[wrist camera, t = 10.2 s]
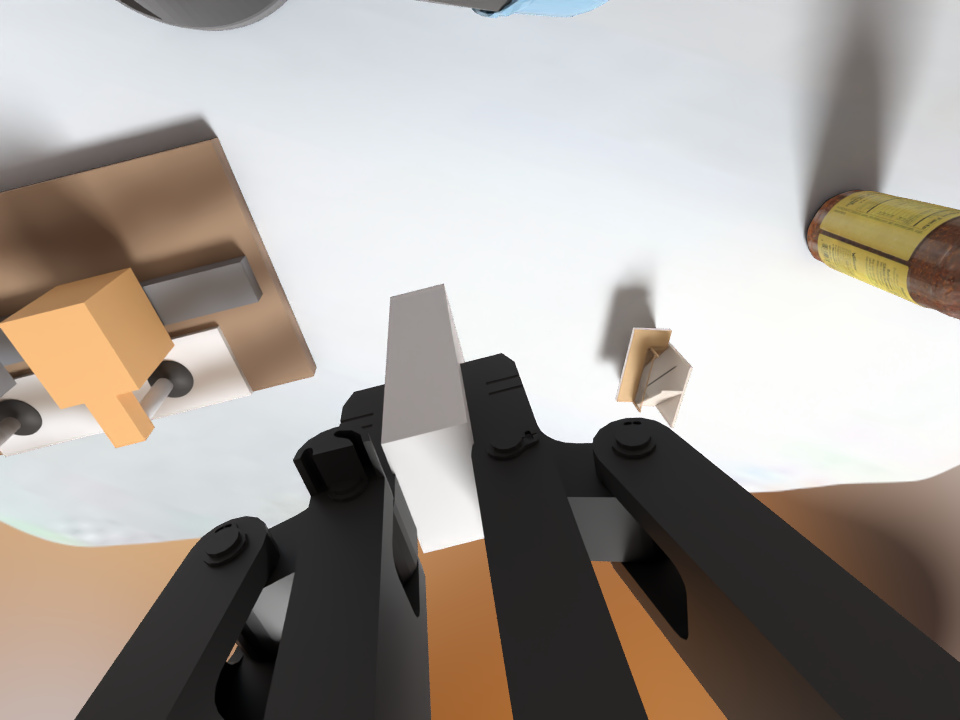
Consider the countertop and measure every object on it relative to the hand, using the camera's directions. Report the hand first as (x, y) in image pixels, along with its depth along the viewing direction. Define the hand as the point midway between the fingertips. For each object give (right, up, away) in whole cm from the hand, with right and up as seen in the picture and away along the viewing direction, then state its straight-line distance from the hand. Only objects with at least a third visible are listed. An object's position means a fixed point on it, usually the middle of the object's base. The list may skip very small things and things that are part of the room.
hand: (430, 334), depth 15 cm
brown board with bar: (-27, +3, +25) cm, 37 cm away
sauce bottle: (+30, +10, +29) cm, 43 cm away
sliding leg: (-23, +1, +23) cm, 33 cm away
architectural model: (+15, 0, +33) cm, 37 cm away
